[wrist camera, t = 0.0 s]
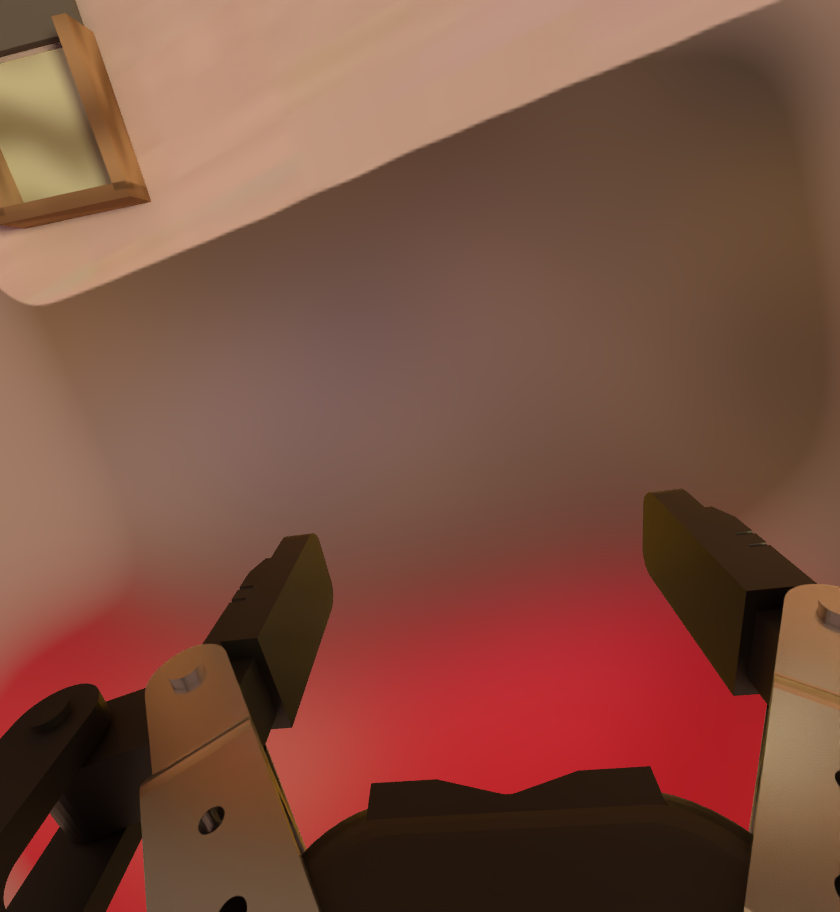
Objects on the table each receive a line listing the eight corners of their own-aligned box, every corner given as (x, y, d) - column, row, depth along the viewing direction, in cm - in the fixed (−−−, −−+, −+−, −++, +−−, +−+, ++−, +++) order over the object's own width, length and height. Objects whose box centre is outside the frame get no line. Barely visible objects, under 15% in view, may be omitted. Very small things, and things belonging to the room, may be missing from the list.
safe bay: (-45, 68, 32) (-83, 52, 30) (93, 32, 31) (65, 12, 29) (25, 228, 36) (-3, 224, 34) (150, 201, 35) (130, 196, 32)
